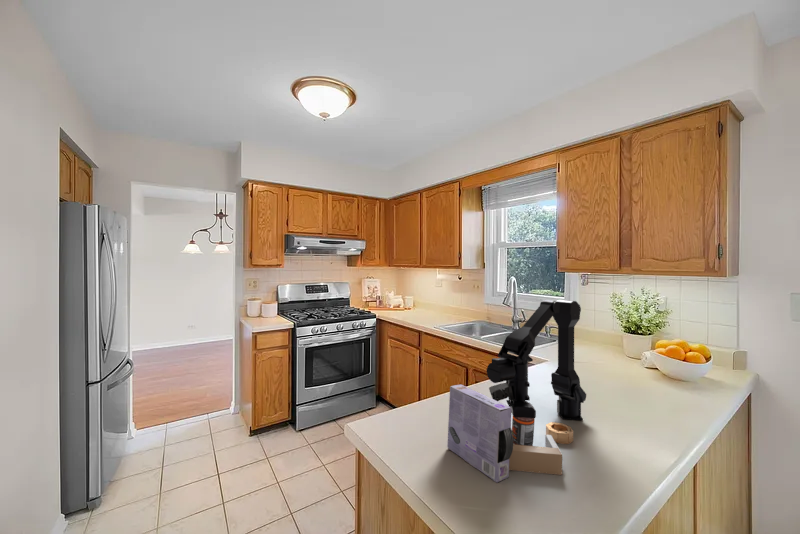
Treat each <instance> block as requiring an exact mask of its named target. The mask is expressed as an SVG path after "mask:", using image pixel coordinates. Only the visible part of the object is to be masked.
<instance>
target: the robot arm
mask: <svg viewBox="0 0 800 534" xmlns="http://www.w3.org/2000/svg"><path fill="white" fill-rule="evenodd" d="M581 311H582V308H581V304H579V302H577V301H576V300H568V299H560V298H559V299H557V300H552V299H551V300H550V299H549V300H548V299H543V300H541V301H540V303H539V306H538V307H537V309H536V310H535V311H534V313H532V315H531V316H530V317H528V320H526V322H525V323H524V324H523V325H522V326H521V327H520V328H517V329H516V330H514V331H512V332H510V334H508V335H507V336H506V337H505V339H504V342H503V345H501V348H500V350H499V351H498V354H497V357H498V358H495V357H494V358H492V359H491V362H490V363H488V365H487V367H486V375H487V378H488V379H489V380H490V381H491V382H492V383H493V384H495V385H491V386H490V387H488V390H489V393H490V395H491V398H492V399H494V400H496V401H498V402H500V401H502V400H505V399H506V400H505V401H506V403H507V404H506V405H507V406H509V407H511V408H512V410H511V416H512V417H513V416H514V417H523V418H524V417H525V418H535V419H536V418H537V411H536V409H535V407H534V406H533V404H531V403H530V402H528V401H530V395H529V387H531V385H530V382H529V363H530V362H533V361H534V359H533V358H532V357H531V356H530V355H531V353H532V351H533V349H534V348H535V346H536V338H537V337H538V335H539V334H540V333H541V331H542V330H543V329H544V328H545V327H546V325H547V324H548V323H549V322H550V320H551V319H552V318H553V319H554V321H555V323H556V325H557V369H556V370H555V371H554V372H552V373H551V375H550V376H551V381H550V382H551V383H550V385H551V387H552V389H553V394H554V395H555V396H558V399H557V400H556V412H557V413H558V415H559V416H560V417H561V419H562V420H575V421H583V419H584V418H583V417H582V404H584V402H585V401H586V399H587V393H586V392H585V391H584V389H583V388H582V387H581V382H580V381H581V380H580V377H579V375H578V373H577V371H576V370H575V327H576V325H577V323H578V322H579V321H580V318H581ZM502 382H503V383H502Z"/></svg>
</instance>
